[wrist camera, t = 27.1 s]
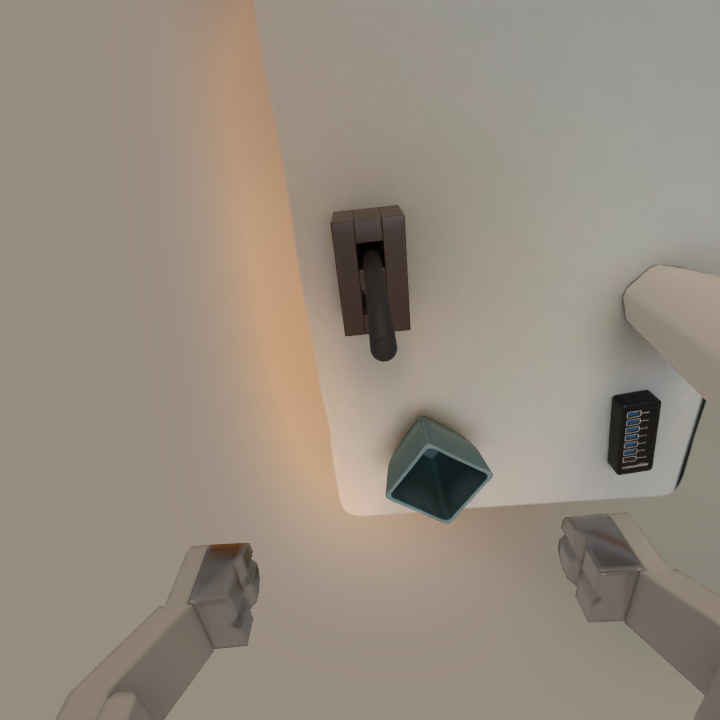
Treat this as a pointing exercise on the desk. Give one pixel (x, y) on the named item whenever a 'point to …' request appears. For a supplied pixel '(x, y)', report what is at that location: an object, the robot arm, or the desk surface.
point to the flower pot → (435, 471)
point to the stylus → (378, 305)
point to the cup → (681, 323)
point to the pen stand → (350, 269)
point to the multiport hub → (633, 431)
